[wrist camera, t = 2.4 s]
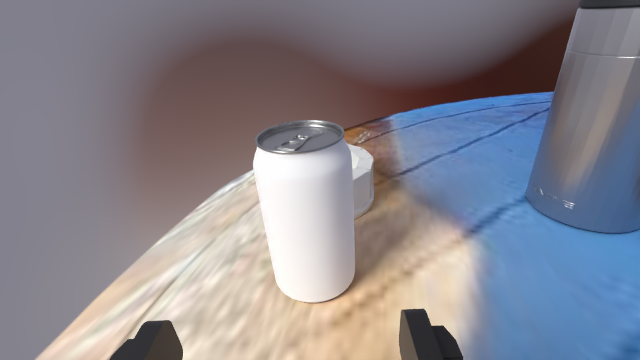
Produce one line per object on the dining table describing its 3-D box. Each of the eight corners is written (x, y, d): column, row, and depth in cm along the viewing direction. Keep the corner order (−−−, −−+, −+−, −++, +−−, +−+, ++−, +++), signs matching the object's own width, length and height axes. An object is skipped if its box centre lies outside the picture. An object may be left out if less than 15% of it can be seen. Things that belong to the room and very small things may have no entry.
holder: (353, 168, 41) (352, 136, 39) (391, 212, 32) (393, 173, 30) (271, 184, 39) (265, 151, 37) (286, 236, 30) (279, 196, 27)
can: (367, 259, 26) (366, 122, 20) (333, 319, 21) (320, 162, 15) (302, 239, 29) (285, 114, 23) (259, 289, 24) (225, 146, 18)
